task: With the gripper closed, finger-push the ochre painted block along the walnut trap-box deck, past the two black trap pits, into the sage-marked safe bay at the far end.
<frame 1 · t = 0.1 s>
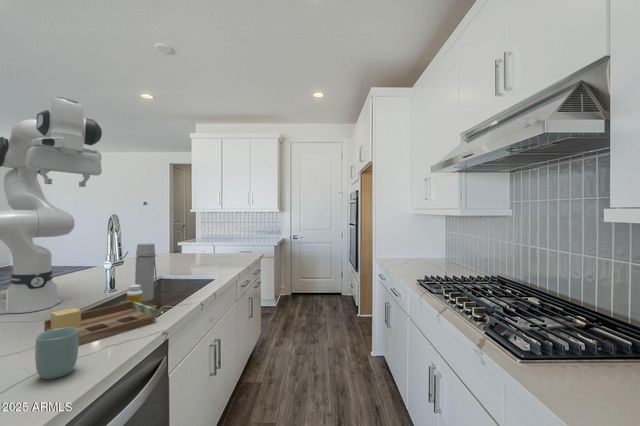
hand: (65, 185, 103), 48 cm above the worktop, fingers open, 8 cm apart
supplement bottle: (134, 310, 120), on the worktop
block: (65, 327, 94), point 2 cm above the worktop, touching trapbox
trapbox: (103, 329, 100), on the worktop
water bottle: (146, 300, 134), on the worktop
cup: (56, 375, 72), on the worktop
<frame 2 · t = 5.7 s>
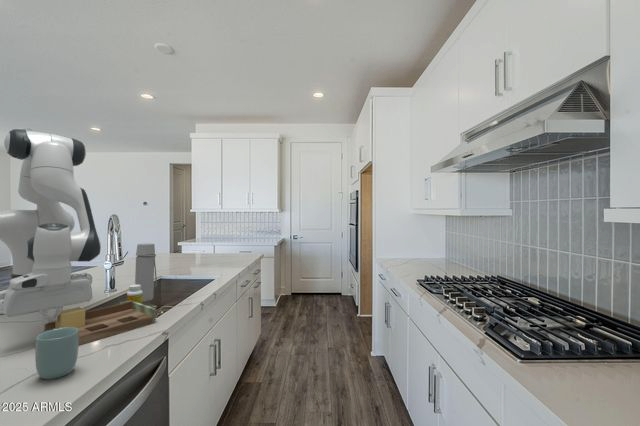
hand: (50, 322, 91), 5 cm above the worktop, fingers closed
block: (70, 326, 95), point 2 cm above the worktop, touching gripper, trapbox
everything else where it was.
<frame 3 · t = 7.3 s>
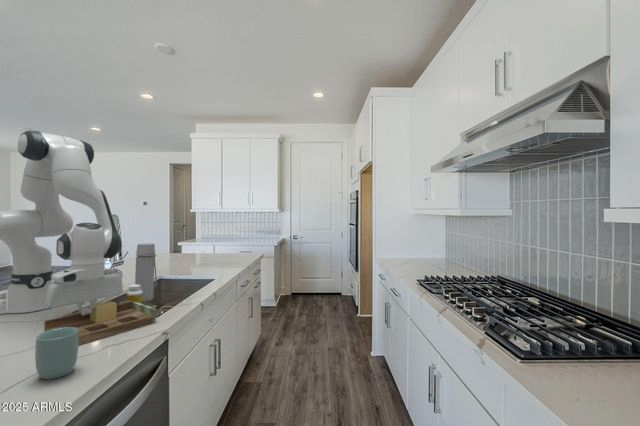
hand: (87, 314, 98), 5 cm above the worktop, fingers closed
block: (103, 318, 102), point 3 cm above the worktop, touching gripper
everything else where it was.
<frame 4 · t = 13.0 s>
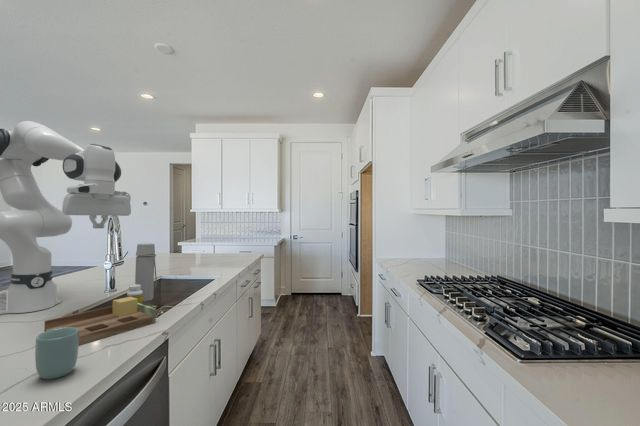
hand: (98, 228, 107), 33 cm above the worktop, fingers closed
block: (124, 313, 108), point 2 cm above the worktop, touching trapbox
everything else where it was.
at the end: block inside the target area on the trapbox (0.3 cm from its centre), point 2.5 cm above the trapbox's base; block tilted 0° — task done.
